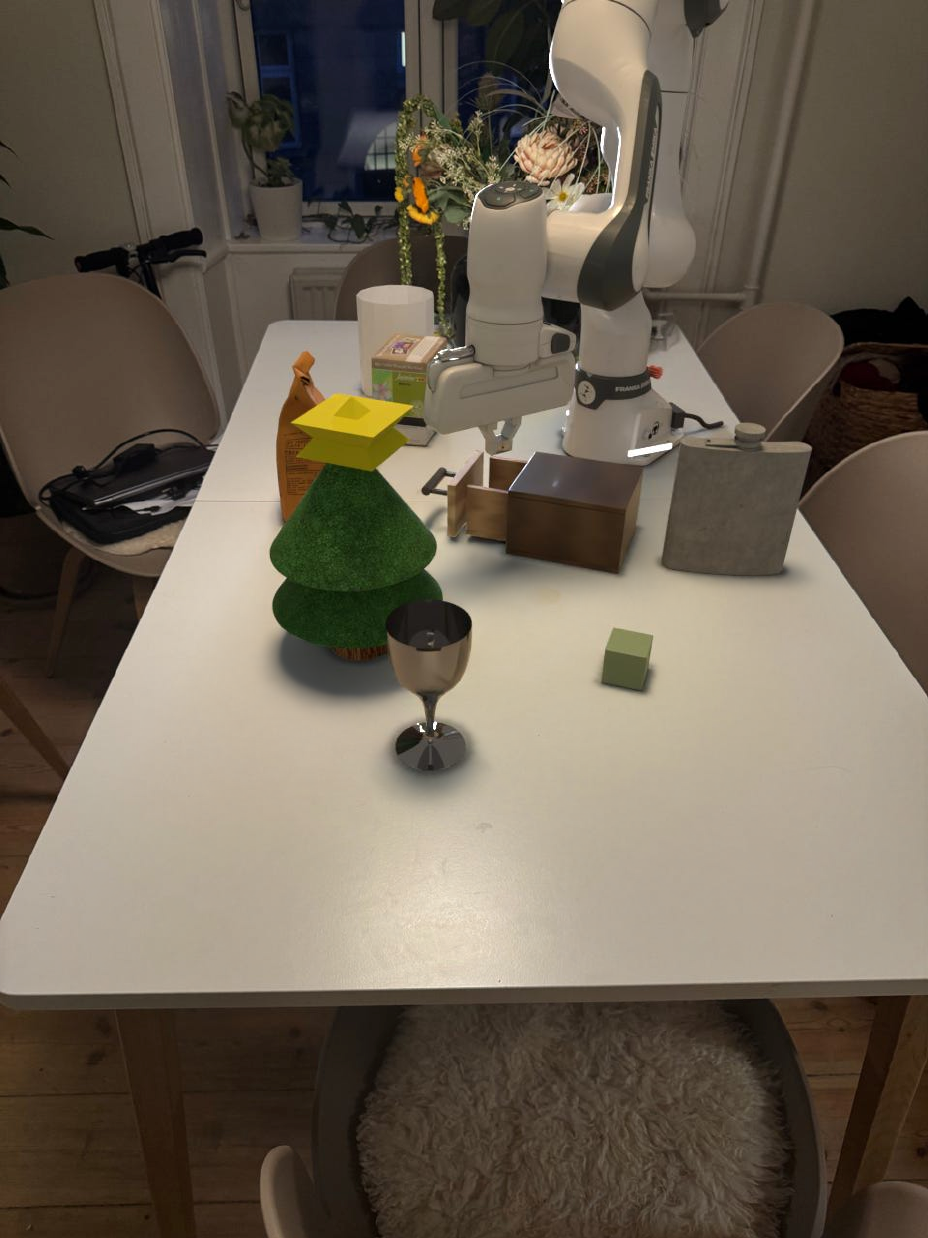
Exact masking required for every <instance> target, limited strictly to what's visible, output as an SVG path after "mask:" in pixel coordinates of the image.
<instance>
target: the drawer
mask: <svg viewBox="0 0 928 1238" xmlns="http://www.w3.org/2000/svg"><path fill="white" fill-rule="evenodd" d="M484 459H485V451H483V450H475V451H474V452H473V453H472V455H471V456H470V457H469V458H468V460H467V461H465V463H464V464H463V465H462V467H461V468H460V469H459V470H458V472H454V471H448V470H447V469H446V468H445V467H443V466H442V467H439V468H438V469H437V470H436V471H435V472H434V474H433V475H432V476H431V477H430V478H429V480H428V481H426V483H425V484H423V486H422V487H421V488H420V492H421V495H423V496H425V497H428V496H430V495H431V494H433V495H439V496H444V497H447V498H446V501H447V503H446V504H447V506H446V507H447V508H446V509H447V512H446V513H447V517H446V519H447V521H446V523H447V525H446V526H447V528H446V530H447V536H449V537H452V538H453V537H457V535H458V534H459V532H460V531H461V529H463V527H464V526H465V535H467V536H474V537H480V538H485V539H491V540H497V541H503V542H506V531H507V507H508V490H509V489H510V487H511V486H512V484H513V483H514V482H515V480H516V479H517V477H518V476H519V474H520V473H521V471H522V470H523V469H524V467H525V466H526V464H527V463H528V461H529V460H522V459H517V458H510V457H509V458H508V457H503V456H496V455H492V456H491V455H490V456H489V460H488V464H489V465H488V487H485V486H484V464H485V460H484ZM445 477H448V478H451V480H450V481H449V482H448V483H447V485H446V487H447V488H446V489H441V488H437V487H438V486H439V484H440V483H441V482H442V481H443V480H444V478H445Z"/></svg>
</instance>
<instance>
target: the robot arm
mask: <svg viewBox="0 0 928 1238" xmlns="http://www.w3.org/2000/svg"><path fill="white" fill-rule="evenodd" d="M560 1H561V3H562V4H561V9H560V11H559V13H558V16H557V17H558V18H557V21H556V24H555V27H554V32H553V35H552V38H551V39H552V40H551V45H550V50H549V51H550V52H549V69H550V74H551V78H552V81H553V83H554V86H555V88H556V90H557V91H558V93H559V94H560V96H561V97H562V98H563V100H564V101H565V103H567V104H568V106H570V107H571V108H572V109H573V110H574V111H575V112H577V114H579V115H580V116H582V117H584V118H586V119H587V120H589V121H591V122H593V123H595V124H597V125H599V126H601V127H602V133H601V141H600V151H601V155H602V157H603V160H604V161H605V163H606V165H607V168H608V171H609V175H610V181H611V190H612V192H603V193H594V194H588V195H585V196H582V197H580V198H578V199H576V201H574V203H573V204H572V205H571V206H570V207H569V209H568V210H565V209H561V208H556V207H555V208H554V207H551V206H549V205H547V199H546V193H545V190H544V189H543V187H541V185H538V184H537V183H533V182H530V181H526V180H525V181H524V180H505V181H501V182H493V183H491V184H489V185H486V186H485V187H483V188H481V190H479V191H478V192H477V193H476V195H475V198H474V202H473V206H472V211H471V215H470V223H469V230H468V239H467V255H466V276H467V280H468V285H469V297H468V302H467V304H466V308H465V344H464V345H465V346H462V347H457V348H454V349H447V350H444V351H441V352H439V353H438V354H437V356H436V357H434V358H433V359H432V360H431V361H430V363H429V364H428V366H427V385H426V391H425V400H424V413H423V417H424V421H425V423H426V424H427V425H428V426H429V427H430V428H431V429H433V430H434V431H435V433H438V434H440V435H443V436H444V435H445V436H446V435H448V434H453V433H457V432H461V431H465V430H470V429H475V428H478V429H479V431H480V433H481V434H482V437H483V438H484V441H485V442H484V450H485V452H486V454H488V455H489V456H490V457H491V456H496V455H500V454H504V453H507V452H511V451H512V450H513V443H514V442H513V439H514V438H515V436H516V434H517V433H518V431H519V429H520V427H521V426H522V418H523V417H525V416H528V415H532V414H537V413H541V412H545V411H546V412H547V411H549V410H554V409H559V408H562V407H566V406H568V404H569V406H568V410H566V413H565V415H566V416H567V418H566V422H565V425H564V426H562V427H561V435H562V437H563V439H562V441H561V448H562V449H563V451H564V452H566V454H568V456H571V457H578V458H585V459H591V460H598V461H605V462H612V463H619V464H626V465H633V466H639V467H644V466H648V465H649V464H651V463H652V462H654V461H656V459H658V458H660V457H661V456H663V455H664V454H665V453H668V452H669V451H670V450H672V449H673V448H674V447H676V446H677V445H680V440H681V439H682V438H685V434H684V433H683V432H682V431H681V430H680V429H683V428H684V426H685V421H686V419H690V420H693V421H696V422H697V423H698V424H699V425H700V426H701V427H703V428H704V429H708V430H709V429H711V430H712V429H715V428H719V427H723V426H724V424H725V423H724V420H720V421H716V422H713V423H708V422H706V421H705V420H704V419H703V418H702V417H701V416H699V415H697V414H694V413H689V412H686V411H685V410H684V409H682V408H681V407H679V406H678V405H677V404H675V403H673V402H672V401H669V402H668V401H667V400H666V399H665V398H664V397H663V396H661V395H660V394H659V393H658V392H657V391H656V390H655V389H653V385H652V381H651V378H653V379H655V380H660V379H661V378H662V376H663V374H664V369H663V367H662V366H656V365H655V364H650V365H649V366H648V360H649V352H650V345H651V337H652V329H653V320H652V318H653V317H652V315H651V311H650V310H649V308H648V306H647V304H646V301H645V299H644V295H643V291H642V289H643V288H649V289H650V288H652V289H653V288H654V289H655V288H656V289H659V288H660V289H662V288H668V287H671V286H674V285H675V284H677V283H678V282H679V281H681V280H682V279H683V278H684V277H685V276H686V274H687V273H688V271H689V270H690V267H691V266H692V264H693V261H694V259H695V255H696V249H697V241H696V240H697V239H696V233H695V231H694V229H693V227H692V225H691V224H690V222H689V220H688V218H687V215H686V213H685V212H686V211H685V207H684V205H683V204H684V203H683V197H682V190H681V181H680V151H681V142H682V136H683V135H682V134H683V130H684V129H683V128H684V122H685V115H686V111H687V110H686V109H687V103H688V97H689V93H688V92H689V90H690V85H691V77H692V69H693V61H694V39H696V38H699V37H700V36H701V34H702V32H703V30H704V29H705V28H707V27H709V26H712V25H713V24H714V23H716V21H717V20H718V19H719V18H720V17H721V16H722V15H723V14H724V12H726V10H727V8H728V5H729V3H730V0H560ZM542 298H545V299H551V300H558V301H566V302H572V303H577V304H580V322H581V323H580V335H579V336H580V337H579V352H578V361H577V363H576V359H575V355H574V354H573V352H572V351H574V350H575V348H576V345H577V335H576V333H574V332H572V331H569V330H568V329H565V328H563V327H562V326H558V325H556V324H553V323H550V322H547V321H545V320H544V306H543V301H542ZM436 360H439V361H436ZM435 361H436V362H435ZM499 422H504V424H503V425H502V429H501V431H500V433H499V434H498V435H496V434H495V432H494V431H497V429H498V423H499Z"/></svg>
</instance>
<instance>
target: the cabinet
mask: <svg viewBox="0 0 928 1238" xmlns="http://www.w3.org/2000/svg"><path fill="white" fill-rule="evenodd" d="M527 461H528V463H527V464H526V466H525V467H524V469H523V470H522V471H521V473H520V474H519V476H518V477H517V479H516V480H515V482H514V483H513V484H512V486H511V487H510V489H509V490H508V507H507V531H506V541H505V555H509V556H510V555H511V556H516V557H521V558H527V559H533V560H537V561H544V562H548V563H550V562H551V563H554V564H561V565H566V566H571V567H578V568H583V569H587V570H594V571H600V572H605V573H610V574H614V575H615V574H616V575H617V574H618V575H619V573H620V570H621V568H622V565H623V562H624V560H625V557H626V555H627V553H628V549H629V547H630V544H631V541H632V539H633V537H634V534H635V532H636V529H637V523H638V515H639V507H640V500H641V494H642V486H643V485H642V484H643V478H644V470H645V467H644V466H640V465H631V464H619V463H612V462H605V461H598V460H591V459H585V458H578V457H573V456H571V455H563V454H556V453H551V452H550V453H549V452H544V451H543V452H542V451H537V450H535V451H534V453H533V454H532V456H531V457H530V459H529V460H527Z"/></svg>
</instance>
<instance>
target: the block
mask: <svg viewBox="0 0 928 1238" xmlns="http://www.w3.org/2000/svg"><path fill="white" fill-rule="evenodd" d="M653 640H654V634H650V633H645V632H639V631H633V630H629V629H625V628H624V629H623V628H619V627H613V628H612V630H611V633H610V636H609V638H608V641H607V643H606V646H605V649H604V656H603V664H602V673H601V681H600V682H601V683H604V684H609V685H614V686H619V687H624V688H628V689H633V690H636V691H637V690H638V691H642V690H643V688H644V683H645V681H646V677H647V673H648V670H649V665H650V660H651V652H652V646H653V642H654V641H653Z"/></svg>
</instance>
